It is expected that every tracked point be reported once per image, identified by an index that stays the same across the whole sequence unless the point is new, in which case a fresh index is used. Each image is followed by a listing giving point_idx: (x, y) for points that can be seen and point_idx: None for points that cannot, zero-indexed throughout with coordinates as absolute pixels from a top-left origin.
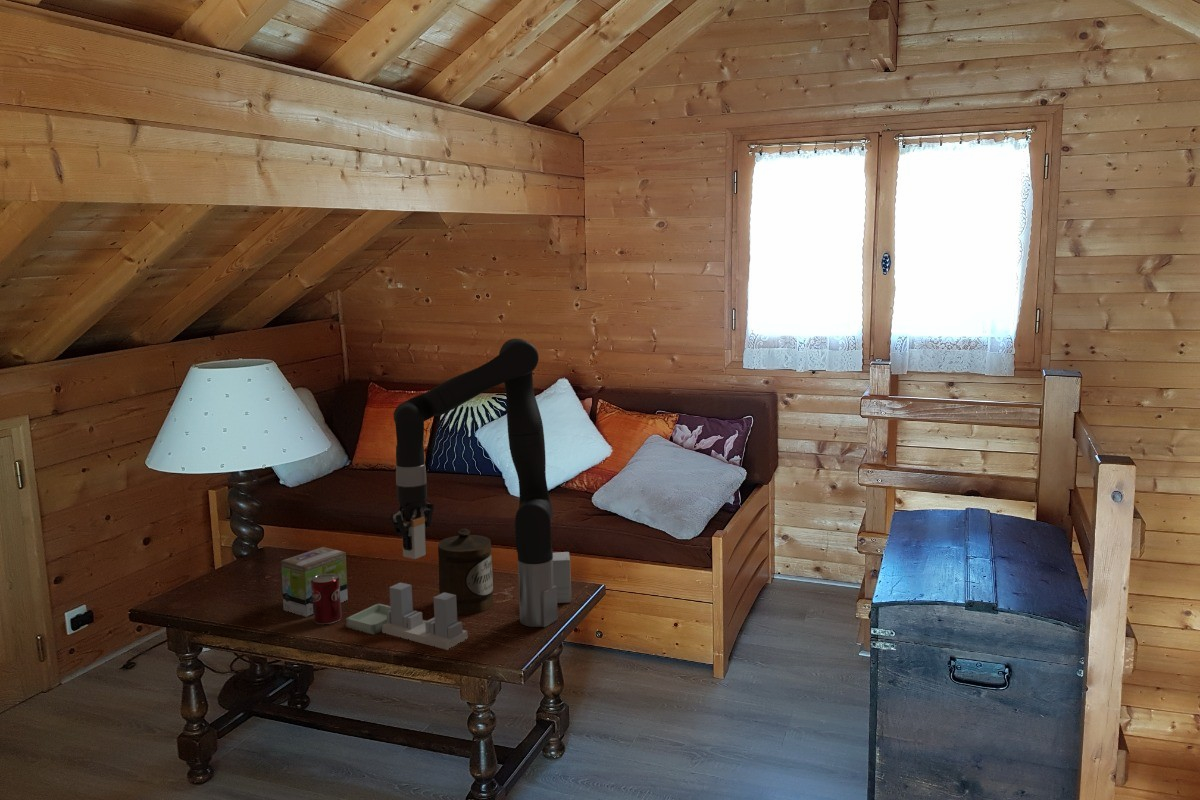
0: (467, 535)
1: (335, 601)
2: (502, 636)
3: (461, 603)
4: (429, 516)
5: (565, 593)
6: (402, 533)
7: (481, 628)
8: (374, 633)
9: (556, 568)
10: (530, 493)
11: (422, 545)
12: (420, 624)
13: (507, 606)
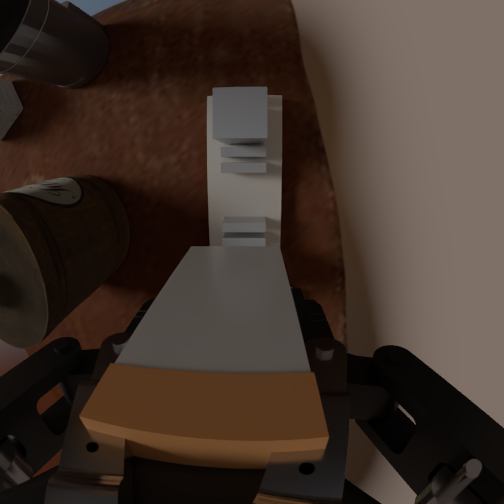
0: None
1: None
2: (167, 51)
3: (109, 204)
4: (18, 390)
5: (3, 84)
6: (420, 361)
7: (153, 112)
8: (291, 287)
9: None
10: None
11: (205, 268)
12: (232, 216)
13: (54, 153)
